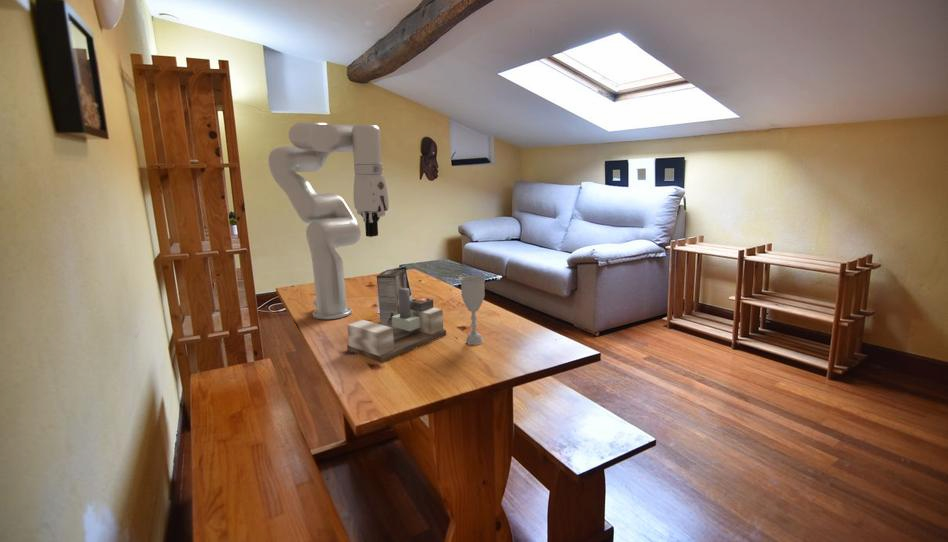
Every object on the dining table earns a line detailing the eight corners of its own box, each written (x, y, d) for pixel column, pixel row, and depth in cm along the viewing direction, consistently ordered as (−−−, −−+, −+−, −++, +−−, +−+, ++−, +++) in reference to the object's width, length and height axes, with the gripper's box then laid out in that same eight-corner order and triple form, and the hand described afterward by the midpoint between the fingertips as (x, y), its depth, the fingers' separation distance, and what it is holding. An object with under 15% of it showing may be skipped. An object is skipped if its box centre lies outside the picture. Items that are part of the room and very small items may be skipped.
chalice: (490, 338, 137) (489, 276, 133) (483, 347, 131) (481, 281, 127) (466, 336, 139) (464, 274, 135) (457, 344, 133) (455, 280, 129)
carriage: (392, 326, 138) (389, 289, 136) (402, 322, 141) (400, 286, 139) (409, 331, 134) (407, 292, 131) (420, 327, 137) (418, 289, 134)
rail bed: (347, 350, 131) (344, 315, 129) (411, 326, 149) (410, 294, 147) (382, 362, 122) (379, 324, 120) (446, 335, 141) (444, 301, 138)
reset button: (413, 307, 141) (412, 299, 141) (421, 304, 143) (420, 297, 143) (421, 309, 139) (420, 301, 139) (429, 306, 142) (428, 299, 141)
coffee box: (390, 317, 158) (387, 269, 155) (409, 318, 157) (406, 269, 153) (379, 326, 149) (376, 275, 146) (399, 327, 148) (396, 276, 145)
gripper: (396, 170, 134) (399, 236, 139) (361, 170, 143) (365, 232, 148) (376, 171, 129) (379, 240, 133) (340, 170, 138) (345, 235, 142)
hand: (372, 235), depth 140 cm, fingers closed
